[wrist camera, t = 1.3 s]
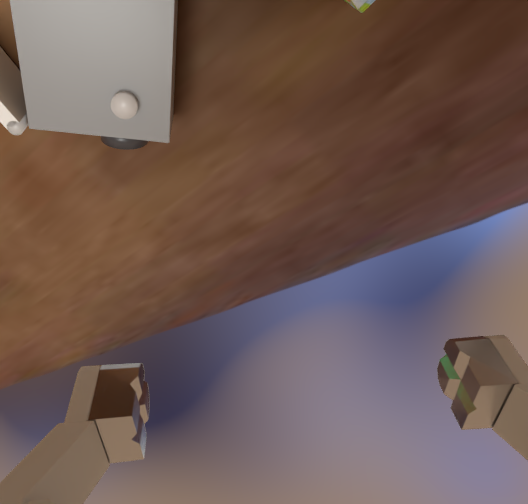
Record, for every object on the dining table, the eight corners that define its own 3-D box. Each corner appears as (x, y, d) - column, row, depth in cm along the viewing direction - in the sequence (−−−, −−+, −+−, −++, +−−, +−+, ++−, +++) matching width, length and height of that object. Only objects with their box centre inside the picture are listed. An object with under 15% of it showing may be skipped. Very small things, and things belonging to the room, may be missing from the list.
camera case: (21, -124, 33) (-15, -126, 27) (182, -93, 35) (177, -90, 29) (50, 116, 43) (28, 148, 38) (172, 129, 45) (167, 162, 40)
